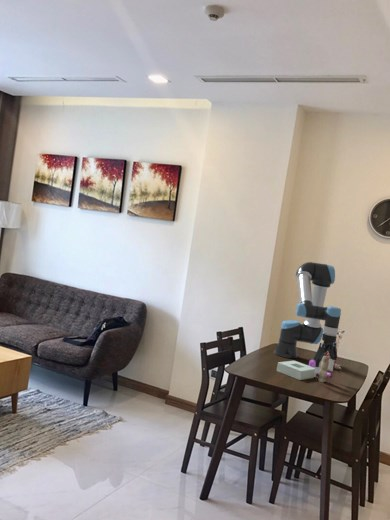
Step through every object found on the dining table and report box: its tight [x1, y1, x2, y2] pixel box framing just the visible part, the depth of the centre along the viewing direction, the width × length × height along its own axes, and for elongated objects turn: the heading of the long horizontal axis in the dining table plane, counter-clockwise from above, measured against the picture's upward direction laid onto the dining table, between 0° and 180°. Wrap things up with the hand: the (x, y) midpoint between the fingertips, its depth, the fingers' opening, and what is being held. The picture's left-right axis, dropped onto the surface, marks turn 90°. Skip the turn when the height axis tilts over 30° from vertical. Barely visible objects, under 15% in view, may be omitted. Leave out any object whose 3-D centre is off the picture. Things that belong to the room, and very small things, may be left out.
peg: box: [317, 355, 331, 383], centre depth 268 cm, size 4×4×14 cm
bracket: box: [308, 359, 331, 378], centre depth 284 cm, size 13×6×7 cm, turn 79°
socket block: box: [276, 360, 317, 381], centre depth 275 cm, size 16×16×5 cm
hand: (323, 371), depth 268 cm, fingers open, 13 cm apart
